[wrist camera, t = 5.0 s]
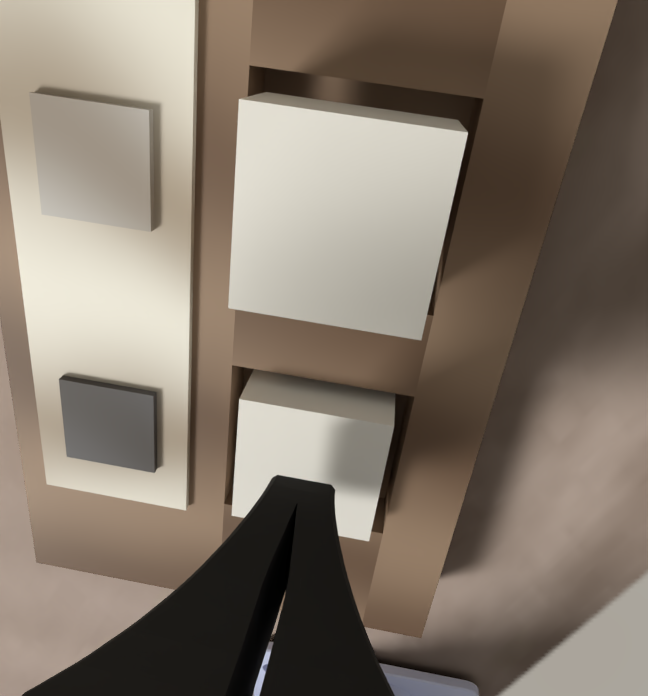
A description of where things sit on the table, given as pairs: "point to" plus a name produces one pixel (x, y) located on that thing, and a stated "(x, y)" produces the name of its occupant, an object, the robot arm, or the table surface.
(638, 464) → the table surface
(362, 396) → the button
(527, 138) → the button board
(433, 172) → the button middle
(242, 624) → the robot arm
